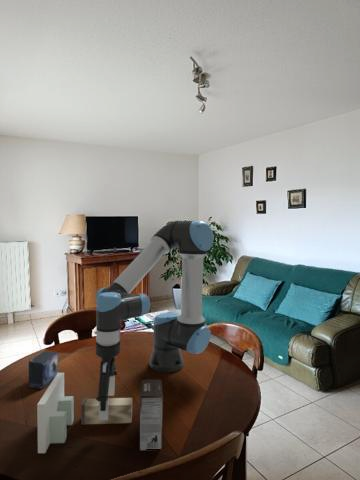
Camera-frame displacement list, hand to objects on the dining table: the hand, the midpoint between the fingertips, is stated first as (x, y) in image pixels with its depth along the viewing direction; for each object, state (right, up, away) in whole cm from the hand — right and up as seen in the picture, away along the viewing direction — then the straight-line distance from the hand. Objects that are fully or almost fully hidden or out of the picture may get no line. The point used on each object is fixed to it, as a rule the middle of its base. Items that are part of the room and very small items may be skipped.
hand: (107, 406), depth 102 cm
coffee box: (+15, -6, -8) cm, 18 cm away
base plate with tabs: (-12, -5, -5) cm, 14 cm away
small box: (-31, -3, +23) cm, 39 cm away
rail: (0, -5, +1) cm, 5 cm away
